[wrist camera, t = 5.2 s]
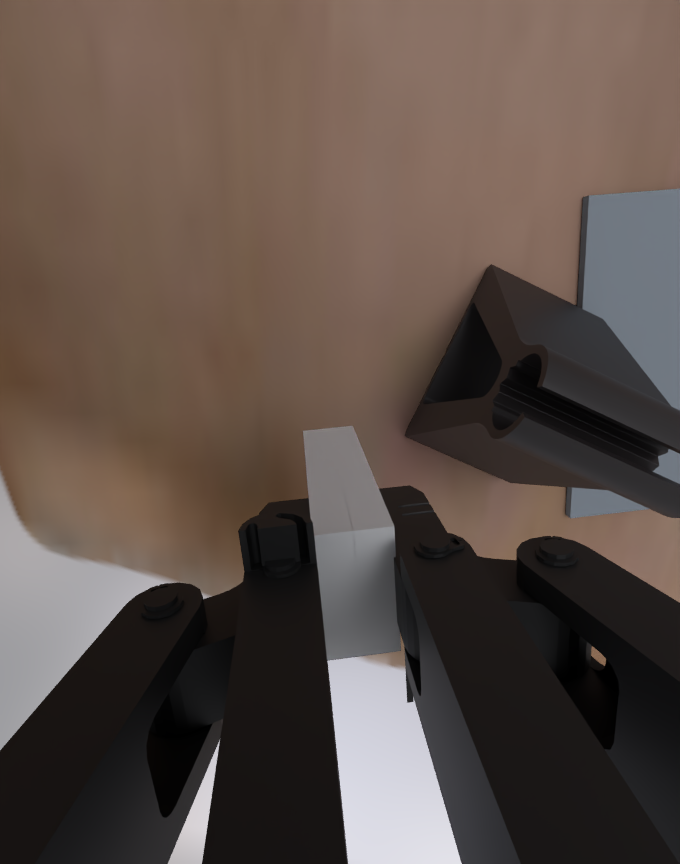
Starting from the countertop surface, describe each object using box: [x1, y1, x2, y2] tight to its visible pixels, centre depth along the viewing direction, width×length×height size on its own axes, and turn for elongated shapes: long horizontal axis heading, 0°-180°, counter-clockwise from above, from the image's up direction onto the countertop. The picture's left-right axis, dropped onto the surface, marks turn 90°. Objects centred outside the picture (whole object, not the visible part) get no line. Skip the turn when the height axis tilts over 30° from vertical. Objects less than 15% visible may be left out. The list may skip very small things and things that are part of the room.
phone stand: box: [405, 264, 680, 518], centre depth 20 cm, size 9×6×12 cm, turn 155°
